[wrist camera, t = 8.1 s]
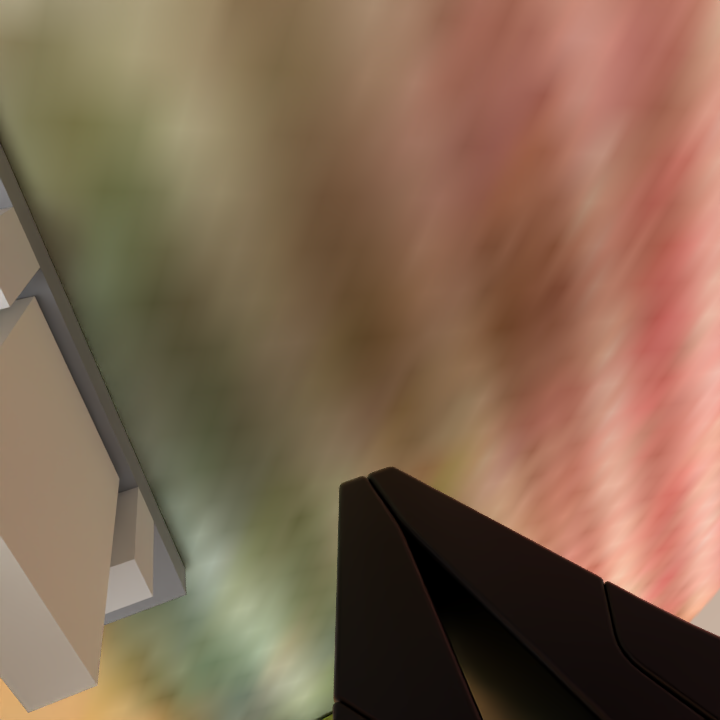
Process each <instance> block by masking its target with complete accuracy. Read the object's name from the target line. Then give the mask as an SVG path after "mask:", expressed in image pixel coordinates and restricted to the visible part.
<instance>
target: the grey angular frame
mask: <svg viewBox="0 0 720 720" xmlns="http://www.w3.org/2000/svg"><path fill="white" fill-rule="evenodd" d="M33 296H35V298H36V300H37V302H38V304H39V307H40V309H41V311H42V313H43V315H44V317H45V320H46V322H47V324H48V326H49V328H50V330H51V332H52V335H53V337H54V339H55V341H56V343H57V345H58V348H59V350H60V352H61V354H62V356H63V358H64V360H65V363H66V365H67V367H68V369H69V371H70V373H71V375H72V378H73V380H74V382H75V384H76V386H77V388H78V391H79V393H80V395H81V397H82V399H83V401H84V403H85V406H86V408H87V410H88V412H89V414H90V416H91V419H92V421H93V423H94V425H95V427H96V429H97V431H98V434H99V436H100V438H101V440H102V442H103V444H104V447H105V449H106V451H107V453H108V455H109V457H110V459H111V462H112V464H113V466H114V468H115V470H116V472H117V474H118V477H119V488H118V497H117V506H116V516H115V525H114V534H113V544H112V553H111V562H110V572H109V581H108V590H107V600H106V609H105V618H104V625H106V624H108V623H111V622H114V621H117V620H119V619H122V618H125V617H127V616H130V615H133V614H135V613H138V612H141V611H143V610H146V609H149V608H151V607H154V606H157V605H160V604H162V603H165V602H168V601H170V600H173V599H176V598H178V597H181V596H184V595H186V578H185V568H184V565H183V563H182V561H181V558H180V556H179V554H178V551H177V549H176V547H175V545H174V542H173V540H172V538H171V535H170V533H169V531H168V528H167V526H166V524H165V522H164V519H163V517H162V515H161V512H160V510H159V508H158V505H157V503H156V501H155V498H154V496H153V494H152V492H151V489H150V487H149V485H148V482H147V480H146V478H145V475H144V473H143V471H142V468H141V466H140V464H139V462H138V459H137V457H136V455H135V452H134V450H133V448H132V445H131V443H130V441H129V439H128V436H127V434H126V432H125V429H124V427H123V425H122V422H121V420H120V418H119V415H118V413H117V411H116V409H115V406H114V404H113V402H112V399H111V397H110V395H109V392H108V390H107V388H106V386H105V383H104V381H103V379H102V376H101V374H100V372H99V369H98V367H97V365H96V362H95V360H94V358H93V356H92V353H91V351H90V349H89V346H88V344H87V342H86V339H85V337H84V335H83V333H82V330H81V328H80V326H79V323H78V321H77V319H76V316H75V314H74V312H73V309H72V307H71V305H70V303H69V300H68V298H67V296H66V293H65V291H64V289H63V286H62V284H61V282H60V279H59V277H58V275H57V273H56V270H55V268H54V266H53V263H52V261H51V259H50V256H49V254H48V252H47V250H46V247H45V245H44V243H43V240H42V238H41V236H40V233H39V231H38V229H37V226H36V224H35V222H34V220H33V217H32V215H31V213H30V210H29V208H28V206H27V203H26V201H25V199H24V197H23V194H22V192H21V190H20V187H19V185H18V183H17V180H16V178H15V176H14V173H13V171H12V169H11V167H10V164H9V162H8V160H7V157H6V155H5V153H4V150H3V148H2V146H1V144H0V309H4V308H8V307H10V306H11V305H12V304H13V302H14V301H15V300H19V299H24V298H28V297H33Z"/></svg>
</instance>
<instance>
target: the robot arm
mask: <svg viewBox="0 0 720 720" xmlns="http://www.w3.org/2000/svg"><path fill="white" fill-rule="evenodd" d="M334 702H335V704H334V705H333V719H332V720H720V637H719V636H717V635H715V634H713V633H710V632H708V631H706V630H704V629H702V628H699V627H697V626H695V625H693V624H691V623H689V622H687V621H685V620H683V619H681V618H679V617H677V616H675V615H673V614H671V613H669V612H667V611H665V610H663V609H661V608H659V607H657V606H655V605H653V604H651V603H649V602H647V601H645V600H643V599H641V598H639V597H637V596H635V595H633V594H632V593H630V592H628V591H626V590H624V589H622V588H620V587H618V586H617V585H615V584H613V583H611V582H608V581H607V582H605V583H604V582H603V579H602V578H601V577H599V576H597V575H596V574H594V573H592V572H590V571H588V570H586V569H584V568H582V567H581V566H579V565H577V564H575V563H573V562H571V561H569V560H567V559H566V558H564V557H562V556H560V555H558V554H556V553H554V552H552V551H551V550H549V549H547V548H545V547H543V546H541V545H539V544H537V543H536V542H534V541H532V540H530V539H528V538H526V537H524V536H522V535H521V534H519V533H517V532H515V531H513V530H511V529H509V528H507V527H506V526H504V525H502V524H500V523H498V522H496V521H494V520H492V519H491V518H489V517H487V516H485V515H483V514H481V513H479V512H477V511H476V510H474V509H472V508H470V507H468V506H466V505H464V504H462V503H461V502H459V501H457V500H455V499H453V498H451V497H449V496H448V495H446V494H444V493H442V492H440V491H438V490H436V489H434V488H433V487H431V486H429V485H427V484H425V483H423V482H421V481H419V480H418V479H416V478H414V477H412V476H410V475H408V474H406V473H404V472H403V471H401V470H399V469H397V468H395V467H387V468H384V469H381V470H378V471H376V472H373V473H370V474H369V475H368V477H367V478H366V477H363V476H361V477H358V478H355V479H352V480H350V481H347V482H344V483H342V484H341V485H340V488H339V521H338V557H337V592H336V628H335V663H334Z"/></svg>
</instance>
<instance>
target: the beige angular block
mask: <svg viewBox="0 0 720 720" xmlns="http://www.w3.org/2000/svg"><path fill="white" fill-rule="evenodd" d="M118 488H119V477H118V474H117V472H116V470H115V468H114V466H113V464H112V462H111V459H110V457H109V455H108V453H107V451H106V449H105V447H104V444H103V442H102V440H101V438H100V436H99V434H98V431H97V429H96V427H95V425H94V423H93V421H92V419H91V416H90V414H89V412H88V410H87V408H86V406H85V403H84V401H83V399H82V397H81V395H80V393H79V391H78V388H77V386H76V384H75V382H74V380H73V378H72V375H71V373H70V371H69V369H68V367H67V365H66V363H65V360H64V358H63V356H62V354H61V352H60V350H59V348H58V345H57V343H56V341H55V339H54V337H53V335H52V332H51V330H50V328H49V326H48V324H47V322H46V320H45V317H44V315H43V313H42V311H41V309H40V307H39V304H38V302H37V300H36V298H35V296H33V297H28V298H24V299H19V300H15V301H14V302H13V304H12V305H11V306H10V307H8V308H4V309H0V677H1V679H2V680H3V681H4V682H5V684H6V685H7V686H8V687H9V689H10V690H11V691H12V693H13V694H14V695H15V696H16V698H17V699H18V700H19V701H20V703H21V704H22V705H23V707H24V708H25V709H26V710H27V712H28V713H29V712H32V711H34V710H37V709H39V708H42V707H44V706H47V705H49V704H52V703H54V702H57V701H59V700H62V699H64V698H67V697H69V696H72V695H74V694H77V693H80V692H82V691H85V690H87V689H90V688H92V687H95V686H97V684H98V674H99V665H100V656H101V646H102V637H103V628H104V618H105V609H106V600H107V590H108V581H109V572H110V562H111V553H112V544H113V534H114V525H115V516H116V506H117V497H118Z"/></svg>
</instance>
